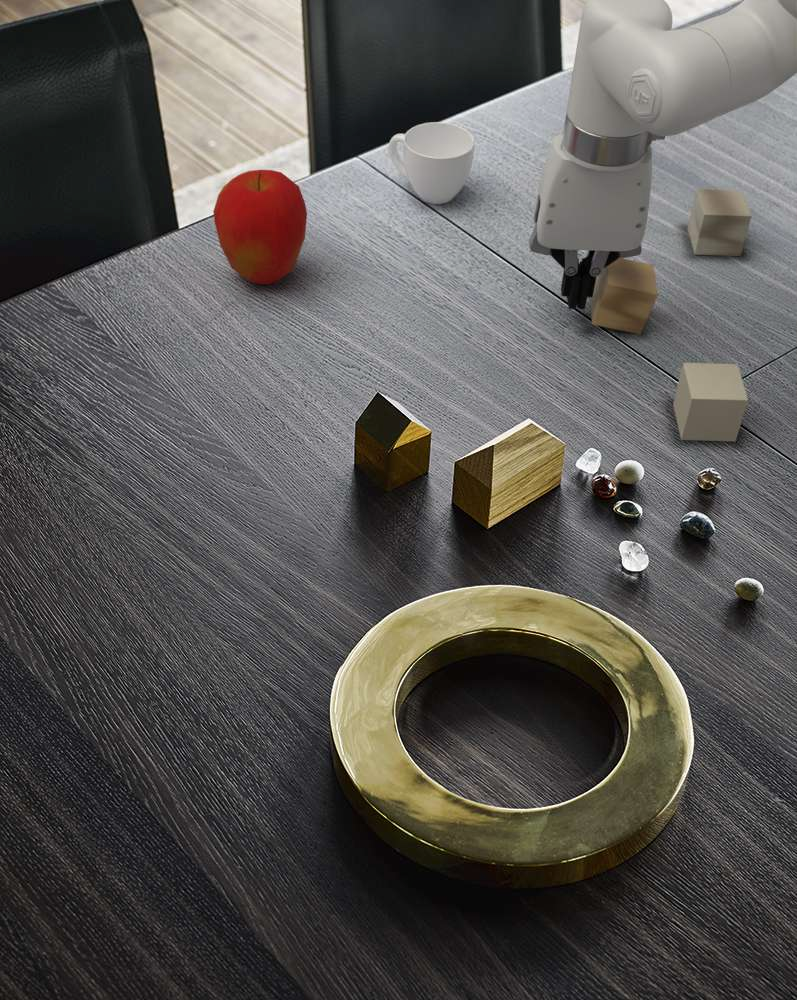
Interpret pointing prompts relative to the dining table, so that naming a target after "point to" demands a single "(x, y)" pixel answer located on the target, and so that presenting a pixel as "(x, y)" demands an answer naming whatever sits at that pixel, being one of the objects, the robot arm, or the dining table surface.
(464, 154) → the cup
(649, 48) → the robot arm
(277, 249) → the apple
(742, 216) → the ash block
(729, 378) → the cream block
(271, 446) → the dining table surface
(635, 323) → the maple block
